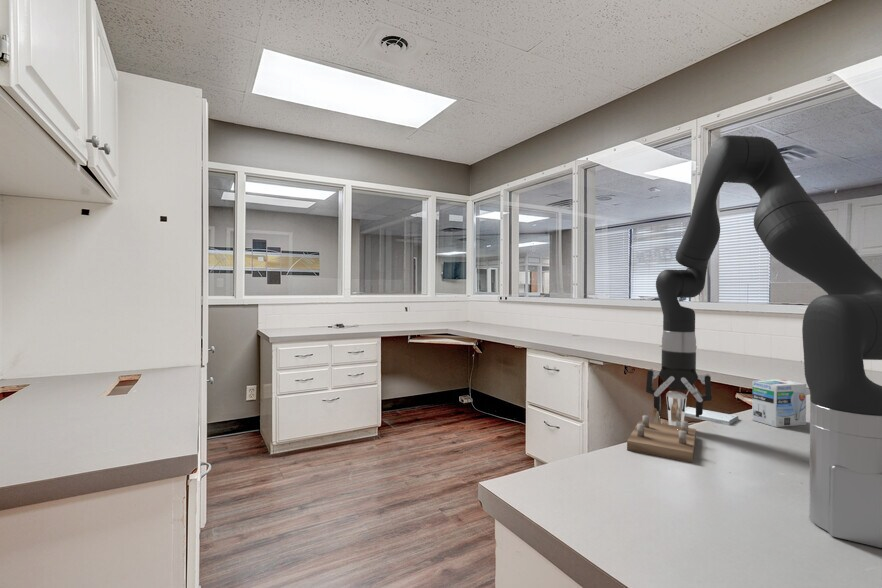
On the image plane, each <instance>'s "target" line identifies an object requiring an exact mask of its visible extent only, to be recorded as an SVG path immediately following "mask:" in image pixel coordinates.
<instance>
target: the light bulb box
mask: <svg viewBox="0 0 882 588" xmlns="http://www.w3.org/2000/svg"><path fill="white" fill-rule="evenodd" d="M751 395H752V403H751V404H752V405H751V406H752V407H751V408H752V413H751V414H752V415H751V417H752V419H751V420H752V421H754V422H758V423H761V424H765V425H768V426H770V427H771V426H772V427H775V428H780V427H781V428H782V427H793V426H795V427H796V426H806V425H807V383H803V382H802V383H801V382H797V381H793V380H787V379H784V378H783V379H782V378H779V379H777V378H776V379H762V380H752V394H751Z"/></svg>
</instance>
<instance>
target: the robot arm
mask: <svg viewBox="0 0 882 588" xmlns="http://www.w3.org/2000/svg"><path fill="white" fill-rule="evenodd" d="M724 183H729V184H733V183H734V184H746V185H748V186H750V187H752V189H753V190H754V191H755V192H756V194H757V195H758V196H759V199H760V200H759V202H758V205H757V207H756V208H755V209H756V210H755V212H754V217H753V227H754V230H755V232H756V234H757V236H758V238H760V241H761V242H762V245H764V247H765V248H766V250H767V252H768V253H769V254H770V255H771V257H773V258H774V259H775V260H777V261H778V262H780V263H781V264H782V265H783V266H785V267H786V268H789V269H790V270H792V271H793V272H795V273H797V274H798V275H800V276H802V277H804V278H805V279H807V280H809V281H811V282H812V283H814V284H816V285H817V286H818V287H819V288H821V289H822V290H823V291H824V292H825V293H826V294H825V295H820V296H817V297H815V298H814V299H813V300H812V301H811V302H809V304H808V305H807V307H806V309H805V312H804V314H803V318H802V330H801V331H802V332H801V335H802V349H803V364H804V365H803V366H804V369H803V370H804V378H805V381H806V386H807V387H808V390H809V395H810V397H809V401H810V403H809V405H810V406H809V409H810V410H809V415H810V416H809V481H808V482H809V483H808V484H809V485H808V486H809V489H808V490H809V499H808V500H809V503H808V504H809V506H808V507H809V511H808V513H809V515H808V518H809V519H810V521H811V522H812V523H814V524H815V525H816V526H817V527H820V529H823V530H824V531H826V532H828V534H829V535H830V536H832V537H833V538H834V537H835V538H837V539H842V540H846V541H847V540H848V541H851V542H855V543H859V544H863V545H868V546H872V547H876V548H880V549H882V385H880V384H877V383H875V382H874V381H872V380H871V379H869V377H867V374H866V371H865V366H864V365H865V364H864V361H866V360H867V361H869V360H870V361H882V277H881V276H880V275H879V274H878V273H876V272H875V271H874V270H873V269H872V268H871V267H870V266H869V264H868V263H866V262H865V261H864V260H863V259H862V257H861V256H860V255H859V254H858V253H857V252H856V250H855V249H854V248H853V247H852V246H851V245H850V243H849V242H848V241H847V240H846V238H844V237H843V235H842V234H841V233H840V232H839V231H838V230H837V228H836V227H835V226H834V224H833V223H832V222H831V220H830V218H829V217H828V216H827V214H825V212H824V211H823V210H822V209H821V207H820V206H819V205H818V204H817V203H816V201H814V199H812V198H811V196H810V194H808V193H807V192H806V190H805V189H804V187H803V186H802V184H801V183H800V182H799V181H798V179H797V178H796V177H795V175H794V174H793V173H792V171H791V170H790V168H789V166H788V164H787V162H786V160H785V159H784V156H783V155H782V153H781V152H780V149H779V148H778V146H777V145H776V144H775V143H774V142H773V141H772V140H771V139H769V138H767V137H763V136H754V135H751V136H749V135H733V134H730V135H723V136H720V137H719V138H717V139H716V140H715V141H714V142H713V144H712V145H711V147H710V148H709V150H708V153H707V154H706V158H705V160H704V163H703V166H702V171H701V175H700V178H699V182H698V186H697V190H696V193H695V198H694V202H693V207H692V211H691V214H690V218H689V220H688V225H687V226H686V229H685V231H684V234H683V236H682V239H681V241H680V243H679V246H678V248H677V250H676V253H675V260H676V262H677V263H678V264H679V265H681V266H683V267H685V268H686V269H669V268H668V269H664V270H661V272H660V273H659V274H658V275H657V277H656V280H655V288H656V292H657V297H658V298H659V299H658V300H659V305H660V308H661V311H662V316H663V318H662V319H663V322H662V336H661V368H660V370H655V369H653V368H649V369H648V370H647V372H646V373H647V374H646V384H645V385H646V387H645V392H646V394H651V395H652V396H653V408H654V410H656V412H661V408H662V407H661V406H662V403H661V402H662V399H661V397H662V395H661V394H662V393H664V392H665V390H666V389H667V388H668V389H670V390H672V391H676V390H678V391H688V390H689V393H690V394H691V395H692V396H693V397H694V398H695V399H696V401H695V408H696V417H699V415H702V413H703V410H704V409H703V406H704V405H703V403H704V402H710V401H712V396H713V395H712V394H713V393H712V378H711V375H710V374H709V373H708V374H698V373H697V364H696V363H697V337H696V313H695V310H693V309H692V308H691V307H687V306H682V305H681V304H680V301H679V299H678V298H681V299H682V298H686V299H688V298H689V299H691V298H695V297H697V296H699V295H700V294H701V293H702V292H703V291H704V289H705V285H706V277H707V272H708V271H707V270H708V264H709V260H710V259H711V256H712V255H713V252H714V250H715V249H716V247H717V245H718V243H719V239H720V236H721V223H720V219H719V214H718V209H717V208H718V207H717V200H718V199H717V198H718V196H719V192H720V190H721V188H722V187H723V185H724ZM658 376H659V377H660V379H661V380H662V381H663V382H662V383H661V384H660V385H659V386H658V387H657V389H655V388H653V386H654V379H657V377H658ZM698 380H699V381H700V382H701V384H702V385H704V388H705V389H704V391H705V393H704V394H701V393H700V392H699V390H698V388H697V387H696V386H695V383H696V382H697V381H698Z"/></svg>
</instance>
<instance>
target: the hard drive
mask: <svg viewBox="0 0 882 588" xmlns="http://www.w3.org/2000/svg"><path fill="white" fill-rule="evenodd" d="M726 416H727V417H726ZM684 417H686V418H691V419H695V420H696V419H697V420H701V421H705V422H706V421H707V422H712V423H716V424H721V425H726V426H730V425H732V424H734V423H735V422H737V421H738V420H739V416H738V415H734V414H730V413H723V412H719V411H713V410H708V409H707V410H706V409H703V413H702V415H699V417H696V407H690V406H686V407H685V416H684ZM722 417H723V418H722Z"/></svg>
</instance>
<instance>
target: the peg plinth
mask: <svg viewBox="0 0 882 588" xmlns="http://www.w3.org/2000/svg"><path fill="white" fill-rule="evenodd" d="M641 416H642V417H641V418H642V420H638V422H637V424H636V425H635V427H634V428H633V430H632V431H631V433H630V435H629V437H628V438H627V440H626V451H630V452H636V453H640V454H647V455H652V456H656V457H661V458H662V457H663V458H666V459H673V460H677V461H682V462H687V463H692V464H693V463H694V462H693V461H694V454H695V453H694V452H695V448H696V447H695V445H696V438H697V437H696V436H697V434H696V432H697V428H692V427H689V422H688V421H687V420H684V421H681V427H680V426H674V425H669V424H666V423H659V422H653V421H650V416H649V415H647V414H644V415H641ZM677 429H678V430H677Z"/></svg>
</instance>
